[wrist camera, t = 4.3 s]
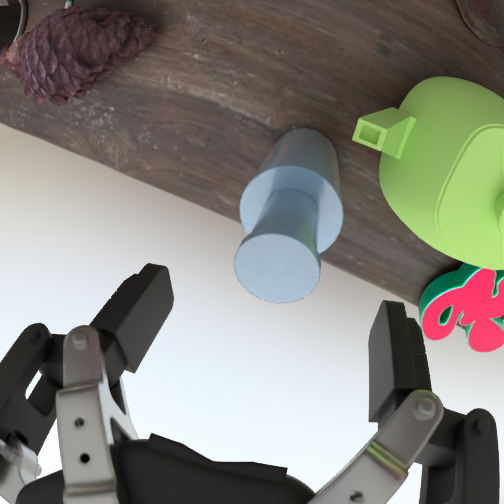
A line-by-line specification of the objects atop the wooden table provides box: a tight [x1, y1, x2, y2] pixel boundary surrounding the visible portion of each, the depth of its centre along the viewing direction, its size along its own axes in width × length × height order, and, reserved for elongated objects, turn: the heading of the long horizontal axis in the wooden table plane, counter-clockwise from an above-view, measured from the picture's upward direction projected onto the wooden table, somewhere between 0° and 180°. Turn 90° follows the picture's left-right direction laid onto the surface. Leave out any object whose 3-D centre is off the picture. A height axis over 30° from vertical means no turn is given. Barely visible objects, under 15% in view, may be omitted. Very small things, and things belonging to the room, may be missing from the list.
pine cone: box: [0, 5, 158, 106], centre depth 19 cm, size 18×10×10 cm
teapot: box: [352, 76, 504, 270], centre depth 16 cm, size 20×13×13 cm
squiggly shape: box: [419, 262, 504, 352], centre depth 24 cm, size 20×16×2 cm
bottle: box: [234, 128, 344, 303], centre depth 19 cm, size 6×6×16 cm
